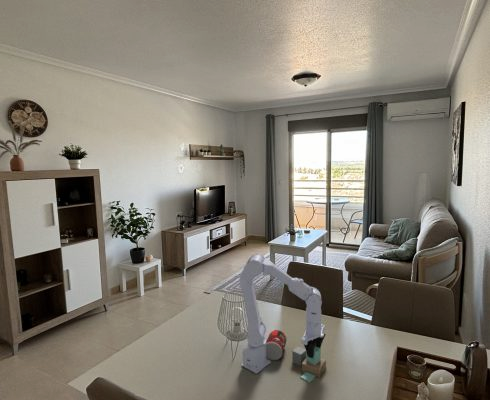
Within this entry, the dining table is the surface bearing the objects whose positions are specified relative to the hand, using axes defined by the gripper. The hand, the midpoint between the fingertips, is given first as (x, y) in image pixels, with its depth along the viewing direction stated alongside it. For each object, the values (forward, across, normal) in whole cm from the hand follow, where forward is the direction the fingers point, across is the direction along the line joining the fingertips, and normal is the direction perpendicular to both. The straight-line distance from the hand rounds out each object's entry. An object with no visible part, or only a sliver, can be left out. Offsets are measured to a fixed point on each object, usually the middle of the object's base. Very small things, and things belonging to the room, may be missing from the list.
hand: (313, 354), depth 123 cm
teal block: (+3, 0, 0) cm, 3 cm away
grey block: (+6, 0, +6) cm, 9 cm away
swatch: (+6, -6, -1) cm, 8 cm away
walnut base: (+6, 0, 0) cm, 6 cm away
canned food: (+2, +4, +20) cm, 21 cm away
